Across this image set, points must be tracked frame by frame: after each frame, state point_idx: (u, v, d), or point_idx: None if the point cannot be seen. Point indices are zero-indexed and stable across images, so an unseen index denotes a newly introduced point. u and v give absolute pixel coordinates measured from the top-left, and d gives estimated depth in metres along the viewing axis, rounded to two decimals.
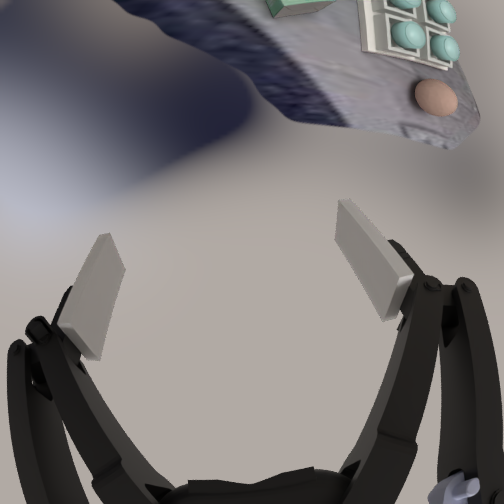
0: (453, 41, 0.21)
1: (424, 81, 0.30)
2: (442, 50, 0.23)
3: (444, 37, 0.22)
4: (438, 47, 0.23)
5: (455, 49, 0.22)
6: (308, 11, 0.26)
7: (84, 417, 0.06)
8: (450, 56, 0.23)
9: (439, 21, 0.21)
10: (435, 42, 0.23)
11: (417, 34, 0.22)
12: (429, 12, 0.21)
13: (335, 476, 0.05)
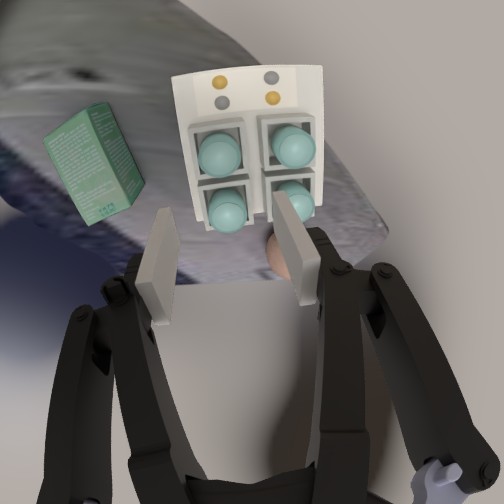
0: (301, 197, 0.30)
1: (272, 238, 0.39)
2: None
3: None
4: None
5: (306, 206, 0.31)
6: None
7: (143, 392, 0.07)
8: None
9: None
10: None
11: (231, 215, 0.30)
12: (273, 152, 0.29)
13: None
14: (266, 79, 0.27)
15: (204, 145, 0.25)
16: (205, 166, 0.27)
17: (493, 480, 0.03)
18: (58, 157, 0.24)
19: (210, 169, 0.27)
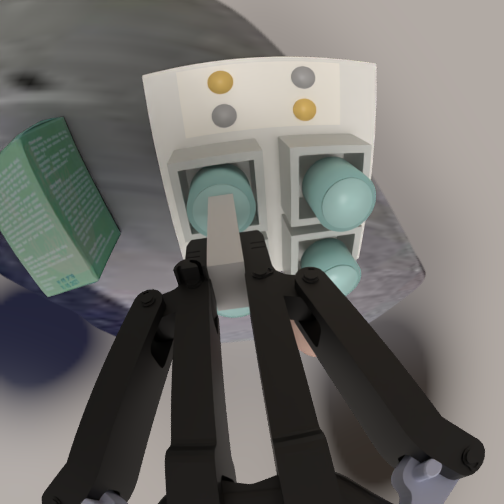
0: (345, 269, 0.20)
1: None
2: None
3: None
4: None
5: (349, 279, 0.21)
6: None
7: (199, 384, 0.07)
8: None
9: None
10: None
11: None
12: (306, 201, 0.19)
13: None
14: (295, 79, 0.17)
15: (196, 190, 0.16)
16: (199, 223, 0.17)
17: (480, 462, 0.03)
18: None
19: None
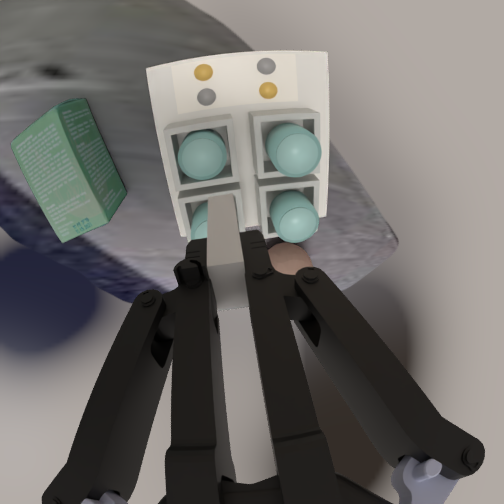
0: (303, 211, 0.25)
1: None
2: (277, 233, 0.27)
3: (282, 211, 0.25)
4: None
5: (308, 221, 0.26)
6: None
7: (199, 384, 0.07)
8: (293, 238, 0.27)
9: None
10: (272, 215, 0.27)
11: None
12: (269, 157, 0.24)
13: (335, 476, 0.05)
14: (260, 68, 0.22)
15: (184, 143, 0.22)
16: (186, 167, 0.23)
17: (480, 462, 0.03)
18: (27, 164, 0.18)
19: (192, 170, 0.23)
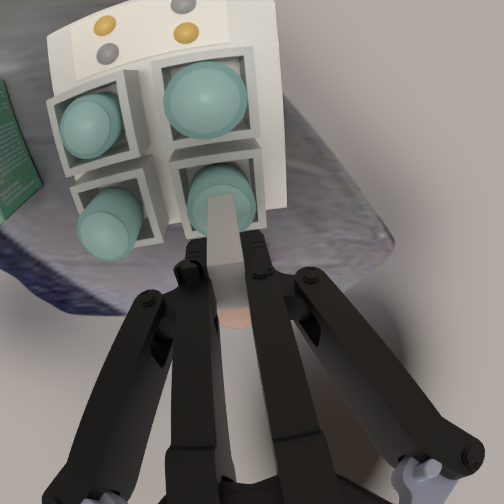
0: (226, 189, 0.16)
1: None
2: None
3: (194, 192, 0.16)
4: None
5: (239, 206, 0.17)
6: None
7: (199, 384, 0.07)
8: None
9: None
10: None
11: (107, 234, 0.16)
12: None
13: None
14: (174, 7, 0.12)
15: (65, 112, 0.13)
16: (69, 143, 0.14)
17: (480, 462, 0.03)
18: None
19: (75, 147, 0.14)
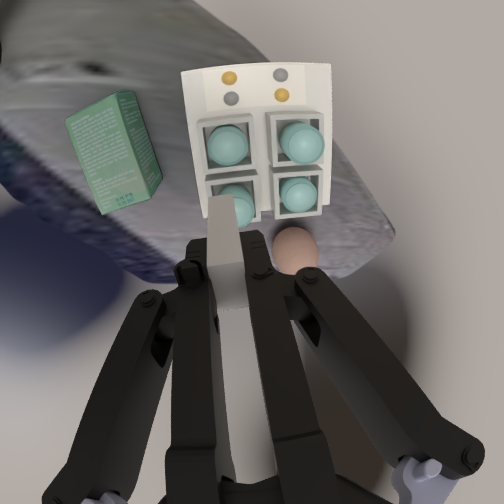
0: (304, 186, 0.32)
1: (279, 237, 0.38)
2: (284, 204, 0.33)
3: (288, 186, 0.32)
4: (281, 198, 0.34)
5: (308, 195, 0.32)
6: None
7: (199, 384, 0.07)
8: (296, 208, 0.33)
9: None
10: (279, 190, 0.33)
11: (238, 211, 0.30)
12: (282, 149, 0.29)
13: None
14: (275, 76, 0.27)
15: (213, 134, 0.27)
16: (214, 154, 0.28)
17: (480, 462, 0.03)
18: (79, 140, 0.24)
19: (218, 157, 0.28)
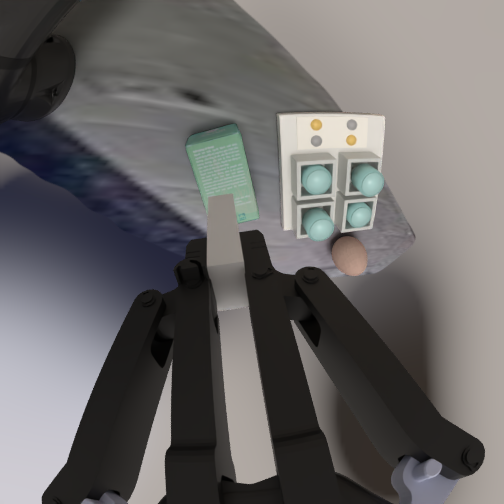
0: (364, 209, 0.42)
1: (339, 244, 0.49)
2: (349, 222, 0.44)
3: (353, 209, 0.42)
4: (346, 217, 0.44)
5: (366, 215, 0.43)
6: None
7: (199, 384, 0.07)
8: (357, 225, 0.44)
9: None
10: None
11: (323, 228, 0.40)
12: (353, 183, 0.39)
13: None
14: (348, 125, 0.37)
15: (309, 171, 0.37)
16: (308, 186, 0.38)
17: (480, 462, 0.03)
18: (201, 166, 0.34)
19: (311, 188, 0.39)
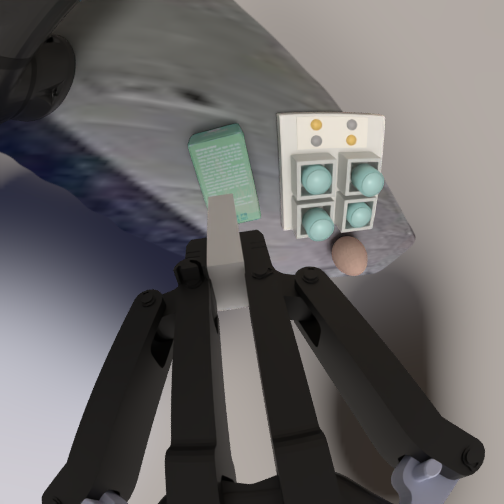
0: (364, 209, 0.42)
1: (339, 244, 0.49)
2: (349, 222, 0.44)
3: (353, 209, 0.42)
4: (346, 217, 0.44)
5: (366, 215, 0.43)
6: None
7: (199, 384, 0.07)
8: (357, 225, 0.44)
9: None
10: None
11: (323, 228, 0.40)
12: (353, 183, 0.39)
13: None
14: (348, 125, 0.37)
15: (309, 171, 0.37)
16: (308, 186, 0.38)
17: (480, 462, 0.03)
18: (204, 166, 0.34)
19: (311, 188, 0.39)
